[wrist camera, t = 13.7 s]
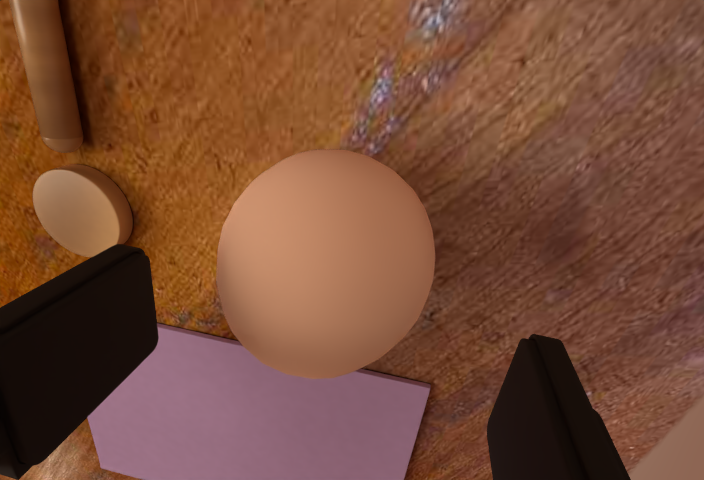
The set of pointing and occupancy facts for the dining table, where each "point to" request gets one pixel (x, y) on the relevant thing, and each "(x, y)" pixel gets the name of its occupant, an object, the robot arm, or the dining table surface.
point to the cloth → (252, 418)
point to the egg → (324, 263)
